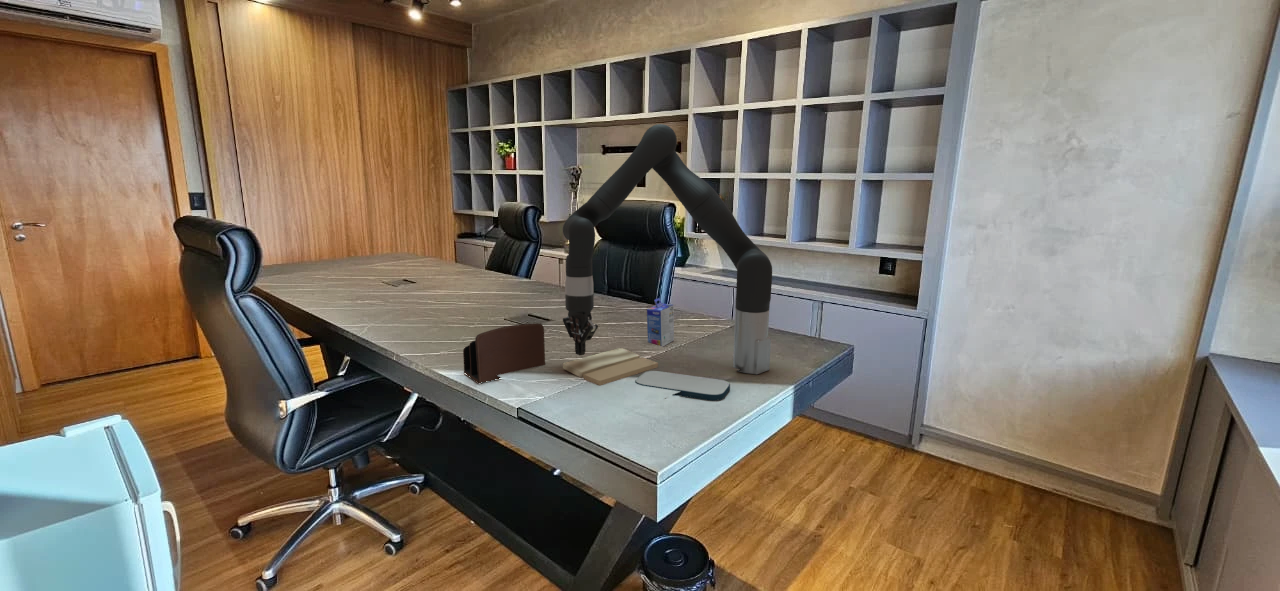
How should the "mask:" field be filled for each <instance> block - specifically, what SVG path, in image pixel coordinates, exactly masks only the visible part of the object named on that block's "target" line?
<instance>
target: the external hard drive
mask: <svg viewBox="0 0 1280 591" xmlns="http://www.w3.org/2000/svg"><path fill="white" fill-rule="evenodd" d="M634 383H635V384H636V385H638V386H643V387H649V388H657V389H663V390H668V391H676V393H673V394H672V396H677V397H685V398H689V399H690V398H691V399H697V400H702V401H703V400H704V401H711V402H713V401H716V402H717V401H722V400H723V399H725V397H726V396H727V394H728V393H729V392H730V389H731V384H730V383H729V382H728V381H726V380H724V379H719V378H711V377H704V376H696V375H691V374H682V373H676V372H675V373H674V372H668V371H667V372H666V371H662V370H661V371H660V370H648V371H644V372H642V374H641V375H640V376H638V377H637V378H636V379H635V380H634Z"/></svg>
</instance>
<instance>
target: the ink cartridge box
mask: <svg viewBox="0 0 1280 591" xmlns="http://www.w3.org/2000/svg"><path fill="white" fill-rule="evenodd" d="M653 302H654V304H655V305H654V306H651V307H649V308H647V309H646V318H647V319H646V323H647V324H646V325H647V343H649V344H653V345H656V346H660V347H665V346H667V345H669V343H672V342H674V340H675V312H674V310H675V309H674V308H675V305H674V304H671V303H662V301H661V299H660V297H658V298H655V299H654V300H653Z"/></svg>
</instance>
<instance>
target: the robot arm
mask: <svg viewBox="0 0 1280 591" xmlns="http://www.w3.org/2000/svg"><path fill="white" fill-rule="evenodd" d="M677 141H678V139H677V135H676V132H675V131H674V129H673V128H671V126H669V125H667V124H661V123H658V124H654V125H652V126H650V127H648V128H647V129H646V131H645V132H644V133H643V135H642V138H641V139H640V141H639V143H638V145H637V146H636V147H635V149H634V150H633V152H631V154H630V155H629V156H628V158H626V160H625V161H624V162H623V163H622V165H621V166H620V167H619V168H618V169H617V170H616V171H615V172H613V173H612V175H611V176H610V177H608V178H607V180H606V181H604V183H603V184H602V185H600V187H599V188H598V189H597V190H596V191H595V192H593V194H592V196H590V198H589V199H588V200H587V201H586V202H585V203H584V204H583V205H581V206H580V207H578V209H576V210H575V211H574V212H573V213H571V215H569V216H568V217H567V219H566V220H565V221H564V223H563V225H562V234H563V236H564V238H565V239H566V240H567V241H568V254H567V256H566V258H565V282H564V283H565V284H564V292H565V293H564V295H565V297H564V298H565V299H564V300H565V302H564V303H565V309H566V311H568V312H567V316H566V317H563V318H562V323H563V325H564V327H565V330H566V332H567V334H568V336H569V337H570V339H571V338H572V340H573V341H574V351H575V352H574V353H575V355H577V356H584V355H585V354H586V351H587V350H586V349H587V348H586V347H587V346H586V342H588V341H591V340H592V338H593V337H594V335H595V333H596V332H597V329H598V327H599V325H598V324H597V323H595V324H594V322H593V317H592V311H593V310H594V308H595V307H594V306H595V304H594V303H595V301H594V300H595V298H594V297H595V296H594V278H593V277H594V276H593V255H594V250H595V245H596V244H595V242H596V231H595V230H596V229H595V227H597V226H598V224H599V223H601V222H603V221H605V220H608V219H609V218H610V217H611V216H612V215H613V214H614V213H615V211H617V209H618V208H619V207H620V206H621V205H622V204H623V203H624V201H625V200H626V199H627V198H628V196H630V194H631V193H632V191H633V190H634V189H635V188H636V187H637V185H638V184H639V183H640V181H642V179H643V178H644V177H645V176H646V175H647V174H648V173H649V172H650V171H651V170H653V171H654V172H656V174H657V175H658V176H659V177H660V178H661V179H662V181H664V182H665V183H666V184H667V186H668V187H669V188H670V191H672V192H673V194H674V195H675V197H676V198H677V199H678V201H679V202H680V204H682V206H683V207H684V208H685V210H686V212H688V214H689V216H690V217H691V218H692V219H693V221H694V222H695V223H696V224H697V226H699V227H700V228H701V230H702V231H704V232H705V234H707V235H708V236H709V237H710V239H712V240H713V241H714V242H716V243H717V244H718V245H719V246H720V247H721V249H722V250H723V251H724V252H725V253H726V255H727V257H729V259H730V260H731V263H732V264H733V265H734V267H735V269H736V289H735V290H736V292H735V305H734V306H735V307H734V308H735V309H734V312H735V314H734V331H733V332H734V337H733V356H732V357H733V359H732V360H733V363H732V368H734V369H737V372H740V373H744V374H753V375H759V374H762V373H765V372H767V371H770V366H771V364H770V363H771V347H772V346H771V342H772V337H770V336H769V321H770V308H771V307H770V303H771V300H772V285H773V284H772V283H773V265H772V262H771V260H770V258H769V257H768V255H766V254H767V253H765V252H763V251H762V249H760V248H759V247H758V246H757V245H756V244H755V242H753V241H752V239H750V237H749V236H748V235H747V234H746V233H745V232H744V230H742V228H741V226H740V225H739V223H738V221H737V219H736V217H735V216H734V214H733V213H732V211H731V210H730V208H729V207H728V206H727V204H726V203H725V201H723V200H724V199H722V198H721V196H720V195H719V194H718V192H717V191H716V190H715V189H714V188H713V187H712V186H711V185H710V184H709V183H708V182H707V181H705V180H704V179H703V178H702V177H700V176H699V175H697V174H696V173H694V172H693V171H692V170H690V169H689V167H688V166H687V165H686V164H685V162H683V160H682V159H681V158H680V156H679V155H678V153H677V151H676V149H677V144H678V142H677Z"/></svg>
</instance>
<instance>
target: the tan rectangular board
mask: <svg viewBox="0 0 1280 591" xmlns="http://www.w3.org/2000/svg"><path fill="white" fill-rule="evenodd" d="M656 368H659V362H657V361H654V360H651V359H648V358H644V357H640V358H638V359H635V360H631V361H628V362H624V363H621V364H617V365H614V366H611V367H607V368H604V369H600V370H597V371H594V372H590V373H587V374H583V377H582V378H583V380H586V381H588V382H589V383H592V384H595V385H597V386H604V385H607V384H609V383H612V382H613V383H614V382H615V381H616V382H617V381H618V380H621V379H625V378H628V377H632V376H635V375H637V374H641V373H645V372H647V371H652V370H653V369H656Z"/></svg>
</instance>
